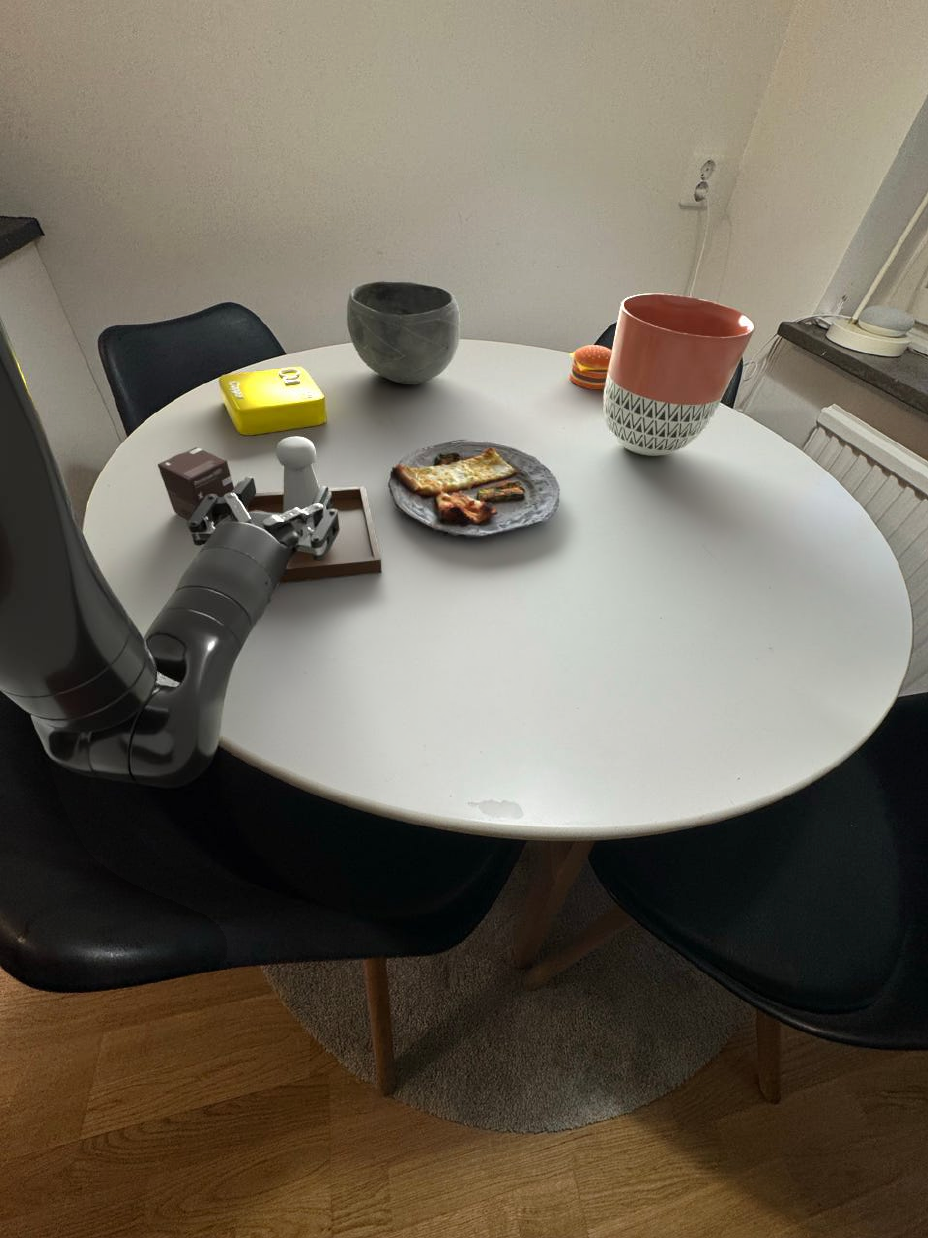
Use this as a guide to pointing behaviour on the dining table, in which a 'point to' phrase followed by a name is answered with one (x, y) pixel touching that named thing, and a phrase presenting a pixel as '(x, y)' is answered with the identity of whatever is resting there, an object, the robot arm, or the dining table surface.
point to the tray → (350, 547)
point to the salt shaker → (298, 473)
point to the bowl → (404, 329)
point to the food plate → (473, 488)
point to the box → (195, 479)
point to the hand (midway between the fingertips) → (288, 488)
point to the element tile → (272, 400)
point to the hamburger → (590, 366)
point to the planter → (670, 369)
